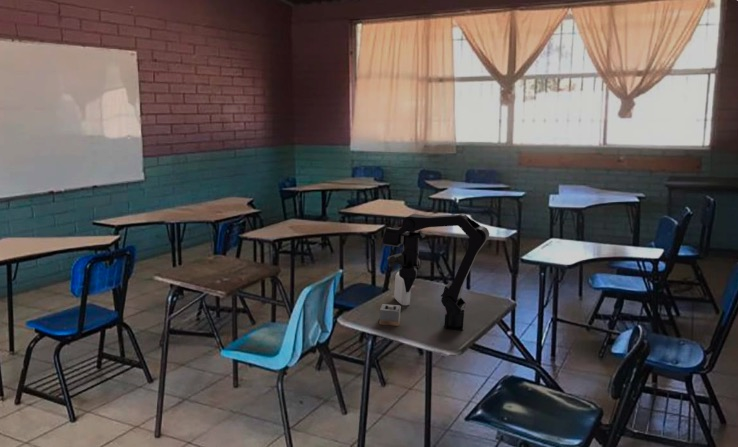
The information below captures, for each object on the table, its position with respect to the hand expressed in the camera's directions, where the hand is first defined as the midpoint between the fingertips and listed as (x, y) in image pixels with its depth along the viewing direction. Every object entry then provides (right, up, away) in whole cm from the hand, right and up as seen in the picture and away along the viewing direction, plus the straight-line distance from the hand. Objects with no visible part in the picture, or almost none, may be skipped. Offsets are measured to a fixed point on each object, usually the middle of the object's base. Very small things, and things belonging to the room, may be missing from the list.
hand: (408, 288), depth 235 cm
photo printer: (-1, -8, +22) cm, 24 cm away
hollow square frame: (-7, -11, -2) cm, 13 cm away
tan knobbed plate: (-7, -12, -2) cm, 14 cm away
